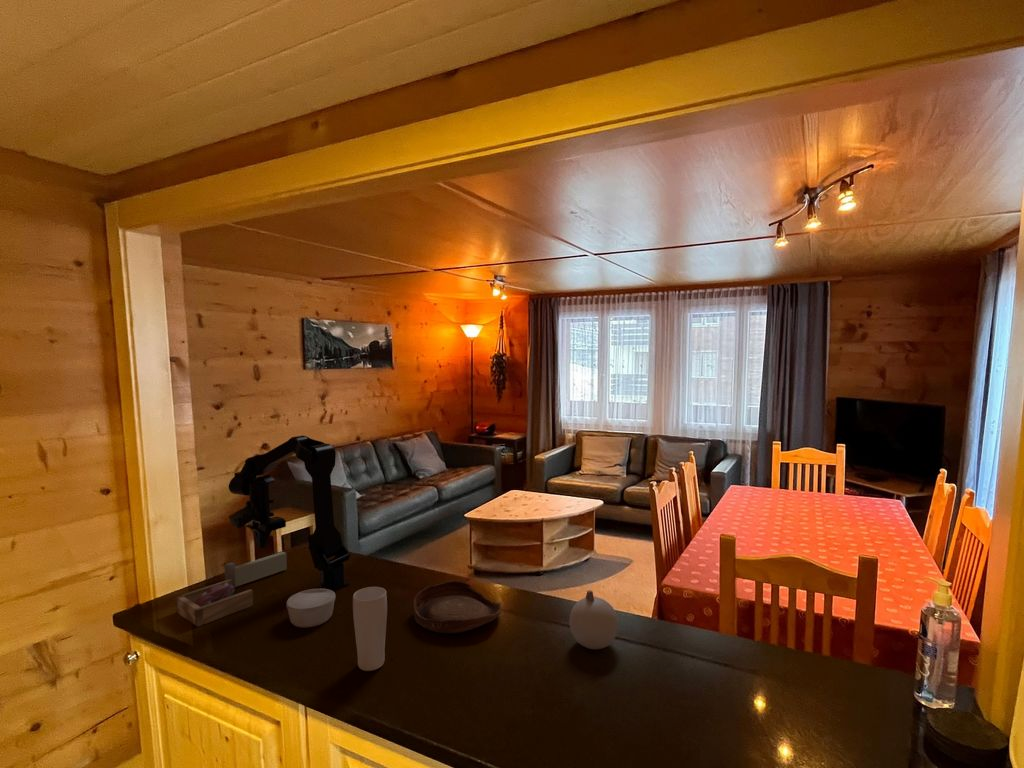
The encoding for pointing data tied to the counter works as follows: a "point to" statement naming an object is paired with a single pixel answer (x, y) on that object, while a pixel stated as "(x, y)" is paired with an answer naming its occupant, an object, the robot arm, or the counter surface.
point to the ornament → (593, 622)
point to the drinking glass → (370, 626)
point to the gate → (255, 569)
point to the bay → (211, 605)
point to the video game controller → (215, 594)
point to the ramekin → (311, 607)
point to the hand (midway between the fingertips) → (261, 547)
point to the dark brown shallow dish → (453, 608)
